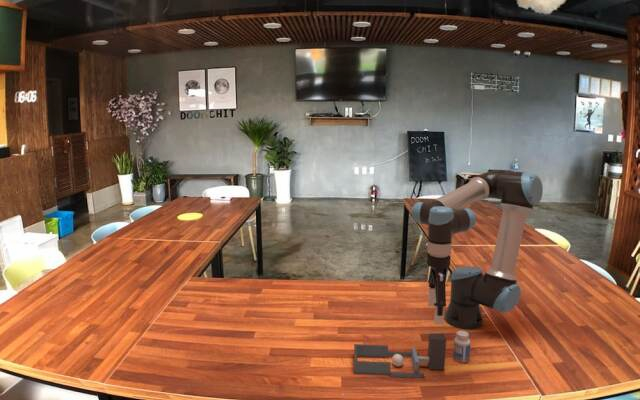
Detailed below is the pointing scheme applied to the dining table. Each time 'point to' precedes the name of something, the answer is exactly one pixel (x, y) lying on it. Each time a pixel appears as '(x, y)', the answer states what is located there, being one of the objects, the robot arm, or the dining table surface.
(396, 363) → the ball
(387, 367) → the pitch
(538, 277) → the dining table surface
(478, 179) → the robot arm
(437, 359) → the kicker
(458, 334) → the pill bottle
